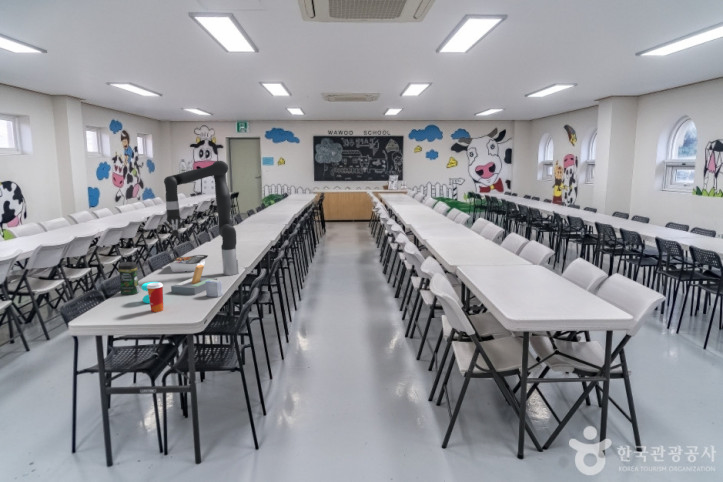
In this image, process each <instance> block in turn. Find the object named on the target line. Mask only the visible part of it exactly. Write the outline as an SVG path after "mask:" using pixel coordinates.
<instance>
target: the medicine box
mask: <svg viewBox="0 0 723 482" xmlns="http://www.w3.org/2000/svg"><path fill="white" fill-rule="evenodd" d="M205 283H206V290H205V293H206V294H205V295H206V297H212V298H220V297H222V296H223V294H224V293H223V292H224V291H223V283H222V280H221V279H220V280H219V279H217V280H208V281H206V282H205ZM219 296H220V297H219Z"/></svg>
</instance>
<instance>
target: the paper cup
mask: <svg viewBox="0 0 723 482" xmlns="http://www.w3.org/2000/svg"><path fill="white" fill-rule="evenodd" d="M156 282H157V283H150V284H148V285H147V288H148V291H147V293H148V294H149V300H150V303H149V306H150V311H151V312H152V313H159V312H162V311H164V285H163V283H162V282H159V281H156ZM158 282H159V283H158ZM148 294H147V295H148Z"/></svg>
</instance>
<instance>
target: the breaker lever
mask: <svg viewBox="0 0 723 482" xmlns="http://www.w3.org/2000/svg"><path fill="white" fill-rule="evenodd" d="M204 267H205V265H204V266H203V265H199V266H196V268H195V271H193V275H192V278H193V279H192V282H191V284H196V283H199V282H200V278H201V277H202V274H203V271H204Z"/></svg>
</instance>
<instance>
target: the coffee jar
mask: <svg viewBox="0 0 723 482" xmlns="http://www.w3.org/2000/svg"><path fill="white" fill-rule="evenodd" d="M117 269H118V270H117V271H118V272H119V276H120V289H119V291H120V294H121V295H127V296H130V295H136V294H139V293H140V291H141V290H140V285H139V280H138V273H137V271H138V265H137V263H136V261H122V262H120V263H118V266H117Z"/></svg>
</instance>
